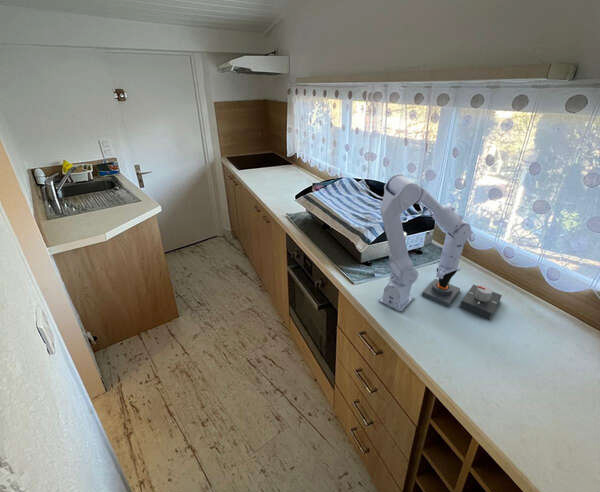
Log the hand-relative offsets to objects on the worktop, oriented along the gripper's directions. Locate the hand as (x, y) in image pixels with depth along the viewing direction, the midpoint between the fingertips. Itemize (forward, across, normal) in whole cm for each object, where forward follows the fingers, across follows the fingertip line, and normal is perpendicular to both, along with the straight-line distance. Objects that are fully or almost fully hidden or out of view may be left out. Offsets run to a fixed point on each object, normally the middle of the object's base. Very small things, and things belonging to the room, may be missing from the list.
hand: (442, 285), depth 107 cm
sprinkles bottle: (+4, +9, +22) cm, 24 cm away
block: (+3, 0, 0) cm, 3 cm away
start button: (+2, 0, 0) cm, 2 cm away
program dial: (0, +3, -12) cm, 12 cm away
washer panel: (+3, +3, -12) cm, 13 cm away
